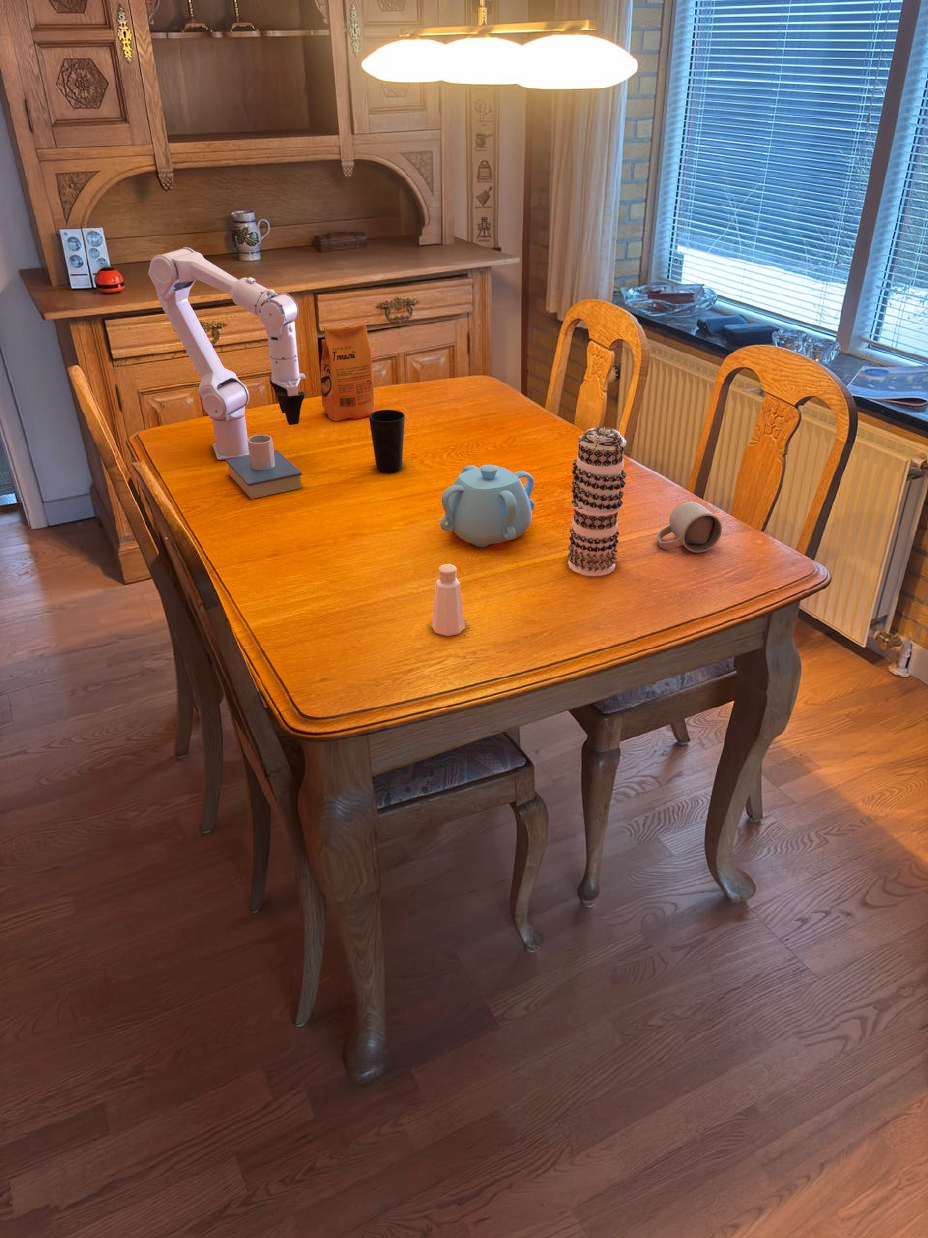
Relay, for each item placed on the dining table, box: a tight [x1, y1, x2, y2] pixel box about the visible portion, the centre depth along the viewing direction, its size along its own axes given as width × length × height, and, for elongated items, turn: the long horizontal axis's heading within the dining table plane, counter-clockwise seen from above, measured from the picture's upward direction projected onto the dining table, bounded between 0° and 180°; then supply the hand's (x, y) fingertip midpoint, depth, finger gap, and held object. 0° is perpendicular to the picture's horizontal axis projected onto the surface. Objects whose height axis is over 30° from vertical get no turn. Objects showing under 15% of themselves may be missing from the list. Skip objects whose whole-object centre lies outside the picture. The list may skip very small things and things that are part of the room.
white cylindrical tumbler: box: [247, 434, 275, 471], centre depth 195 cm, size 5×5×6 cm
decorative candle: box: [567, 426, 628, 577], centre depth 160 cm, size 9×9×25 cm
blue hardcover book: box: [225, 449, 303, 500], centre depth 197 cm, size 15×12×4 cm
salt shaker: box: [431, 563, 466, 637], centre depth 146 cm, size 5×5×11 cm
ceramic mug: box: [656, 500, 723, 554], centre depth 172 cm, size 11×8×8 cm
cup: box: [368, 409, 406, 474], centre depth 201 cm, size 8×8×12 cm
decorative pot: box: [439, 464, 536, 548], centre depth 174 cm, size 16×16×14 cm
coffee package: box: [320, 322, 376, 422], centre depth 228 cm, size 10×12×22 cm
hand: (290, 418), depth 202 cm, fingers open, 7 cm apart
